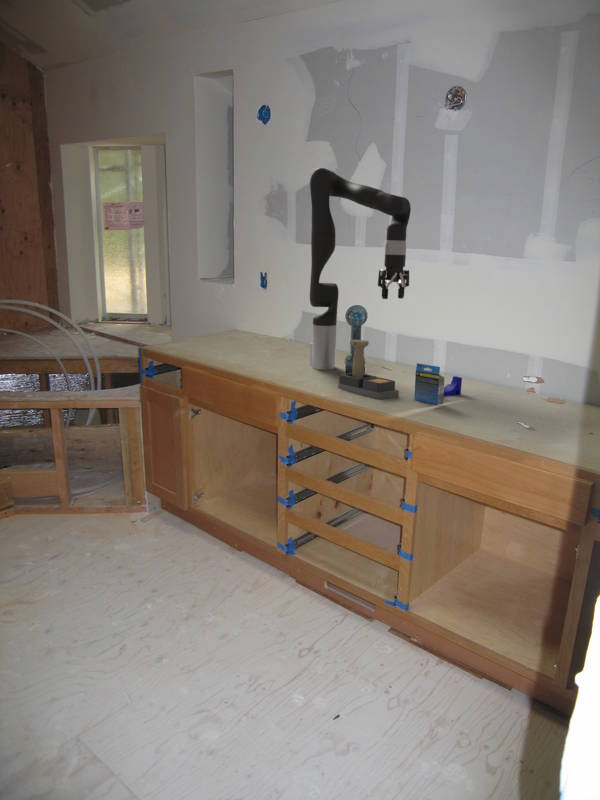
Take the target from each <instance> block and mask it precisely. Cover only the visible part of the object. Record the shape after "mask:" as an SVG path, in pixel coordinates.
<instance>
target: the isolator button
mask: <svg viewBox="0 0 600 800" xmlns="http://www.w3.org/2000/svg"><path fill="white" fill-rule="evenodd" d="M368 381H372V382H377V383H383V382H389V381H387V380H383V379H373V380H368Z"/></svg>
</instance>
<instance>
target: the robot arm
mask: <svg viewBox="0 0 600 800" xmlns="http://www.w3.org/2000/svg"><path fill="white" fill-rule="evenodd" d="M309 189H310V190H309V191H310V201H311V231H310V232H311V234H310V235H311V238H310V239H311V241H310V245H311V246H310V249H311V253H310V254H311V265H310V266H311V267H310V269H311V270H310V282H309V283H310V284H309V303H310V305H311V307H313V308H327V310H326V311H324V312H323V313H321V314H318V315H316V316H314V317H312V342H311V343H310V353H309V358H310V360H309V363H310V364H309V366H310V367H311V368H312V369H313V370H314V369H315V370H319V371H320V370H321V371H330V370H334V369H336V350H337V349H336V345H337V322H338V305H339V286H338V285H337V283H334V282H320V277H321V275H322V272H323V270H324V268H325V266H326V264H327V263H328V261H329V259H330V258H331V257H332V256H333V254H334V252H335V249H336V226H335V223H334V219H333V216H332V213H331V212H332V211H331V207H330V206H331V205H330V197H336V198H340V199H341V198H342V199H346V200H349V201H352V202H354V203H356V204H358V205H361V206H363V207H365V208H369V209H372V210H376V211H379V212H381V213H383V214H386V215H387V216H391V223H390V224H389V225H387V228H386V237H385V238H386V241H385V248H384V262H383V263H384V267H385V269H379V270H378V278H377V279H378V280H377V287H380V289H381V298H382V300H388V299H389V287H390V285H392V283H396V285H397V286H398V289H397V290H398V291H397V299H401V300H402V299H404V297H405V290H406V287H407V288H408V287H410V270H409V269H404V268H406V258H407V242H406V241H407V229H408V224H409V221H410V216H411V202H410V201H409V200H408V198H406V197H405V196H400V195H395V194H392V193H388V192H385V191H384V190H381V189H378V188H375V187H371V186H369V185H366V184H365V185H364V184H360V183H354V182H353V181H350V180H347V179H346V178H343V177H341V176H340V175H338V174H336V173H335V171H332V170H330V169H327V168H326V167H317V168H316V169H315V170H313V172H312V174H311V175H310V180H309Z"/></svg>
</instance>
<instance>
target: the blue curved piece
mask: <svg viewBox="0 0 600 800" xmlns="http://www.w3.org/2000/svg"><path fill="white" fill-rule="evenodd" d="M462 382H463V377H460V376H456V375H454V376H452V380H451V382H450V383H449V384H445V385H444V397H445V396H450V397H451V396H452V397H453V396H460V395H461V394H462Z"/></svg>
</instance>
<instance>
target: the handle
mask: <svg viewBox="0 0 600 800" xmlns="http://www.w3.org/2000/svg"><path fill="white" fill-rule="evenodd" d="M349 343H350V345H351V346H353V358H352V359H353V360H352V369H351V370H352V371H351V373H352V374H353V375H352V376H353V377H355V378H363V375H364V374H365V348H366V347H368V346H369V343H370V342H369V340H362V339H350V341H349Z"/></svg>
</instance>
